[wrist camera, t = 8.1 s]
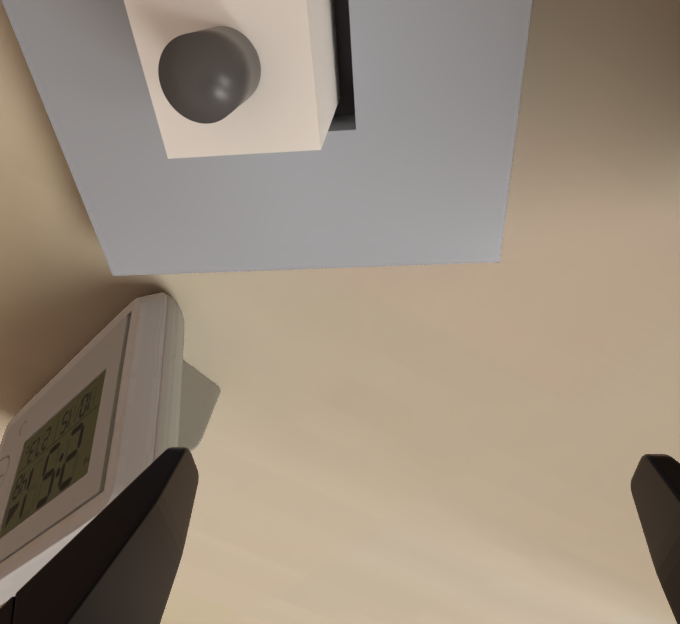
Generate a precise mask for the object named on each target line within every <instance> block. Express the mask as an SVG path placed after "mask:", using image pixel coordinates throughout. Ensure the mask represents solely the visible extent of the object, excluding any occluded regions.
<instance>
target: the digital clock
mask: <svg viewBox="0 0 680 624" xmlns="http://www.w3.org/2000/svg"><path fill="white" fill-rule="evenodd" d="M183 346H184V318H183V315H182V312H181V309H180V307H179V305H178V303H177V302H176V301H175V300H174V299H173V298H172V297H171V296H169V295H168V294H165V293H164V292H162V293H157V294H152V295H147V296H143V297H138V298H136V299H134V300H133V301H132V302H131V303H130V304H129V305H128V306H126V307H125V308H124V309H123V310H122V311H121V312H120V313H119V314H118V315H117V316H116V317H115V318H114V319H113V320H112V321H111V322H110V323H109V324H108V325H107V326H106V327H105V328H104V329H103V330H102V331H101V332H99V333H98V334H97V335H96V336H95V337H94V338H93V339H92V340H91V341H90V342H89V343H88V344H87V345H86V346H85V347H84V348H83V349H82V350H81V351H80V352H79V353H78V354H77V355H76V356H75V357H74V358H73V359H72V360H71V361H70V362H69V363H68V364H67V365H66V366H65V367H64V368H63V369H62V370H61V371H60V372H59V373H58V374H57V375H56V376H55V377H53V378H52V379H51V380H50V381H49V382H48V383H47V384H46V385H45V386H44V387H43V388H42V389H41V390H40V391H39V392H38V393H37V394H36V395H35V396H34V397H33V398H32V399H31V400H30V401H29V402H28V403H27V404H26V405H25V406H24V407H23V408H22V409H21V410H20V411H19V412H18V413H17V414H16V415H15V416H14V417H13V418H12V420H11V421H10V422H9V424H8V426H7V428H6V430H5V433H4V435H3V438H2V441H1V444H0V607H1V606H2V605H3V604H4V603H6V602H7V601H8V600H9V599H10V598H11V597H13V596H15V594H16V592H17V591H18V590H19V589H20V588H21V587H22V586H24V585H25V584H26V583H27V582H28V581H29V580H30V579H31V578H32V577H33V576H34V575H35V574H36V573H37V572H38V571H39V570H40V569H41V568H42V567H43V566H44V565H46V564H47V563H48V562H49V561H50V560H51V559H52V558H53V557H54V556H55V555H56V554H57V553H58V552H59V551H60V550H61V549H62V548H63V547H64V546H65V545H66V544H68V543H69V542H70V541H71V540H72V539H73V538H74V537H75V536H76V535H77V534H78V533H79V532H80V531H81V530H82V529H83V528H84V527H85V526H86V525H87V524H88V523H89V522H91V521H92V520H93V519H94V518H95V517H96V516H97V515H98V514H99V513H100V512H101V511H102V510H103V509H104V508H105V507H106V506H107V505H108V504H109V503H110V502H111V501H113V500H114V499H115V498H116V497H117V496H118V495H119V494H120V493H121V492H122V491H123V490H124V489H125V488H126V487H127V486H128V485H129V484H130V483H131V482H132V481H133V480H135V479H136V478H137V477H138V476H139V475H140V474H141V473H142V472H143V471H144V470H145V469H146V468H147V467H148V466H149V465H150V464H151V463H152V462H153V461H154V460H155V459H156V458H158V457H159V456H160V455H161V454H162V453H163V452H164V451H165V450H166V449H168V448H170V447H186V448H188V449H189V450H190V452H191V451H193V450H194V449H195V448H196V447H197V446H198V444H199V442H200V441H201V439H202V437H203V435H204V432H205V430H206V427H207V424H208V422H209V419H210V417H211V414H212V412H213V409H214V407H215V404H216V402H217V399H218V396H219V394H220V388H219V387H218V386H217V385H216V384H215V383H214V382H212V381H211V380H210V379H208V378H207V377H206V376H204V375H203V374H201V373H200V372H199V371H197V370H196V369H195V368H193V367H192V366H191V365H189V364H188V363H187V362H185V361H184V360H183Z"/></svg>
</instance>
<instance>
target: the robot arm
mask: <svg viewBox="0 0 680 624" xmlns="http://www.w3.org/2000/svg"><path fill="white" fill-rule="evenodd" d="M197 485H198V470H197V467H196V465H195V462H194V459H193V457H192V454H191V452H190V450H189V449H188V448H186V447H170V448H168V449H166V450H165V451H164V452H163V453H162V454H161V455H160V456H159V457H158V458H156V459H155V460H154V461H153V462H152V463H151V464H150V465H149V466H148V467H147V468H146V469H145V470H144V471H143V472H142V473H141V474H140V475H139V476H138V477H137V478H136V479H135V480H133V481H132V482H131V483H130V484H129V485H128V486H127V487H126V488H125V489H124V490H123V491H122V492H121V493H120V494H119V495H118V496H117V497H116V498H115V499H114V500H113V501H111V502H110V503H109V504H108V505H107V506H106V507H105V508H104V509H103V510H102V511H101V512H100V513H99V514H98V515H97V516H96V517H95V518H94V519H93V520H92V521H91V522H89V523H88V524H87V525H86V526H85V527H84V528H83V529H82V530H81V531H80V532H79V533H78V534H77V535H76V536H75V537H74V538H73V539H72V540H71V541H70V542H69V543H68V544H66V545H65V546H64V547H63V548H62V549H61V550H60V551H59V552H58V553H57V554H56V555H55V556H54V557H53V558H52V559H51V560H50V561H49V562H48V563H47V564H46V565H44V566H43V567H42V568H41V569H40V570H39V571H38V572H37V573H36V574H35V575H34V576H33V577H32V578H31V579H30V580H29V581H28V582H27V583H26V584H25V585H24V586H22V587H21V588H20V589H19V590H18V591H17V592H16V594H15V596H13V597H11V598H10V599H9V600H8V601H7V602H6V603H4V604H3V605H2V606H1V607H0V624H160V622H161V619H162V616H163V613H164V609H165V606H166V603H167V600H168V597H169V594H170V591H171V588H172V585H173V582H174V579H175V576H176V573H177V570H178V567H179V564H180V560H181V557H182V553H183V549H184V545H185V541H186V536H187V531H188V527H189V522H190V518H191V513H192V508H193V504H194V499H195V494H196V490H197ZM631 492H632V495H633V499H634V502H635V505H636V509H637V512H638V515H639V519H640V522H641V525H642V528H643V532H644V535H645V538H646V542H647V545H648V548H649V552H650V555H651V558H652V561H653V564H654V567H655V570H656V573H657V576H658V578H659V581H660V583H661V586H662V588H663V591H664V593H665V595H666V598H667V600H668V602H669V605H670V607H671V610H672V612H673V614H674V617H675V619H676V621H677V624H680V463H679V462H677V461H676V460H675V459H674V458H672V457H670V456H668V455H665V454H645V455H644V456H642V458H641V459H640V462H639V464H638V466H637V468H636V470H635V473H634V475H633V477H632V480H631Z"/></svg>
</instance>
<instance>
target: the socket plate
mask: <svg viewBox="0 0 680 624" xmlns="http://www.w3.org/2000/svg"><path fill="white" fill-rule="evenodd" d="M1 1H2V3H3V6H4V8H5V11H6V13H7V16H8V18H9V21H10V23H11V26H12V28H13V31H14V33H15V36H16V38H17V40H18V43H19V45H20V48H21V50H22V53H23V55H24V58H25V60H26V63H27V65H28V68H29V70H30V73H31V75H32V78H33V80H34V82H35V85H36V87H37V90H38V92H39V95H40V97H41V100H42V102H43V105H44V107H45V110H46V112H47V115H48V117H49V119H50V122H51V124H52V127H53V129H54V132H55V134H56V137H57V139H58V142H59V144H60V147H61V149H62V152H63V154H64V157H65V159H66V161H67V164H68V166H69V169H70V171H71V174H72V176H73V179H74V181H75V184H76V186H77V189H78V191H79V194H80V196H81V199H82V201H83V203H84V206H85V208H86V211H87V213H88V216H89V218H90V221H91V223H92V226H93V228H94V231H95V233H96V236H97V238H98V240H99V243H100V245H101V248H102V250H103V253H104V255H105V258H106V260H107V263H108V265H109V268H110V270H111V273H112V275H113V276H126V275H154V274H181V273H209V272H237V271H265V270H292V269H320V268H348V267H376V266H403V265H431V264H459V263H487V262H500V256H501V248H502V240H503V232H504V224H505V216H506V208H507V200H508V192H509V185H510V177H511V169H512V161H513V153H514V145H515V137H516V129H517V121H518V113H519V105H520V97H521V89H522V81H523V73H524V65H525V57H526V49H527V41H528V33H529V25H530V17H531V9H532V1H533V0H334V10H335V25H336V39H337V53H338V68H339V82H340V99H339V102H338V105H337V108H336V110H335V113H334V116H333V119H332V121H331V124H330V127H329V129H328V132H327V135H326V138H325V140H324V143H323V146H322V148H321V150H311V151H294V152H277V153H260V154H242V155H225V156H208V157H190V158H173V159H168V157H167V154H166V150H165V147H164V143H163V140H162V136H161V132H160V129H159V125H158V122H157V118H156V114H155V111H154V107H153V104H152V100H151V97H150V93H149V89H148V86H147V82H146V79H145V75H144V72H143V68H142V64H141V61H140V57H139V54H138V50H137V46H136V43H135V39H134V36H133V32H132V29H131V25H130V21H129V18H128V14H127V11H126V7H125V4H124V0H1Z"/></svg>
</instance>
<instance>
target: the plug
mask: <svg viewBox="0 0 680 624" xmlns="http://www.w3.org/2000/svg"><path fill="white" fill-rule="evenodd" d="M124 4H125V7H126V11H127V14H128V18H129V21H130V25H131V29H132V32H133V36H134V39H135V43H136V46H137V50H138V54H139V57H140V61H141V64H142V68H143V72H144V75H145V79H146V82H147V86H148V89H149V93H150V97H151V100H152V104H153V107H154V111H155V114H156V118H157V122H158V125H159V129H160V132H161V136H162V140H163V143H164V147H165V150H166V154H167V157H168V159H173V158H190V157H208V156H225V155H242V154H260V153H277V152H294V151H311V150H321V148H322V146H323V143H324V140H325V138H326V135H327V132H328V129H329V127H330V124H331V121H332V119H333V116H334V113H335V110H336V108H337V105H338V102H339V99H340V82H339V68H338V53H337V39H336V25H335V10H334V0H124Z"/></svg>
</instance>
